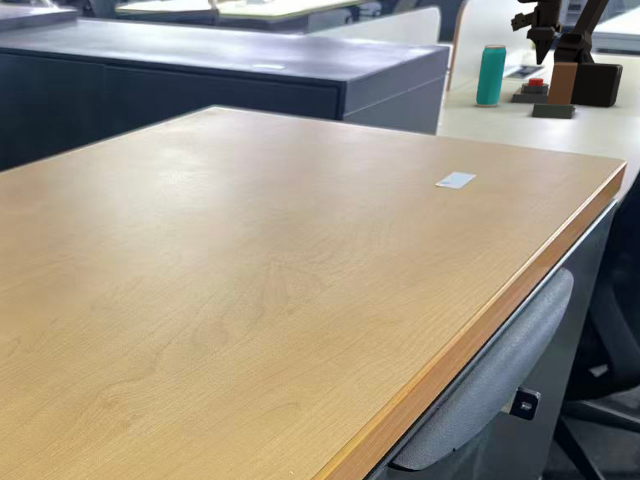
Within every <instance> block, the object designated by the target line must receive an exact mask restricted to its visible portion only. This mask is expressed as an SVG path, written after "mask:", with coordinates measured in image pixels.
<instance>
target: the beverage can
mask: <svg viewBox="0 0 640 480" xmlns="http://www.w3.org/2000/svg"><path fill="white" fill-rule="evenodd" d="M506 48H507V45H505V44H486V45H484V49H483V51H482V54H481V61H480V67H479V68H480V69H479V74H478V81H477V88H476V89H477V90H476V96H475V101H476V102H475V103H476V106H477V107H478V108H495V107H496V106H497V105H498V103H499V101H500V98H501V91H502V83H503V78H504V70H505V64H506V58H507V49H506Z"/></svg>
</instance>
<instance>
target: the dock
mask: <svg viewBox="0 0 640 480" xmlns="http://www.w3.org/2000/svg"><path fill="white" fill-rule="evenodd" d="M574 106H575V105H573V104H570V105H558V104H536V103H533V108H532V114H531V117H533V118H549V119H569V120H571V119H572V118H573V116H574V114H575V112H576V107H574Z"/></svg>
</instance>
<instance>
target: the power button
mask: <svg viewBox="0 0 640 480" xmlns="http://www.w3.org/2000/svg"><path fill="white" fill-rule="evenodd" d="M544 81H545V80H544V78H541V77H531V78H528V82H527V83H528V85H533V86H540V85H543V83H544Z"/></svg>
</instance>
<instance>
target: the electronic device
mask: <svg viewBox="0 0 640 480" xmlns="http://www.w3.org/2000/svg"><path fill="white" fill-rule="evenodd" d="M623 69H624V67H623V65H622V64H621V63H604V62H603V63H601V62H600V63H599V62H595V63H587V62H586V63H582V64H579V65H577V70H576V75H575V81H574V86H573V91H572V96H571V102H570V105H574V106H583V107H585V106H586V107H595V108H609V107H612V106H614V105H616V103H617V98H618V94H619V89H620V85H621V78H622V75H623Z"/></svg>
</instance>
